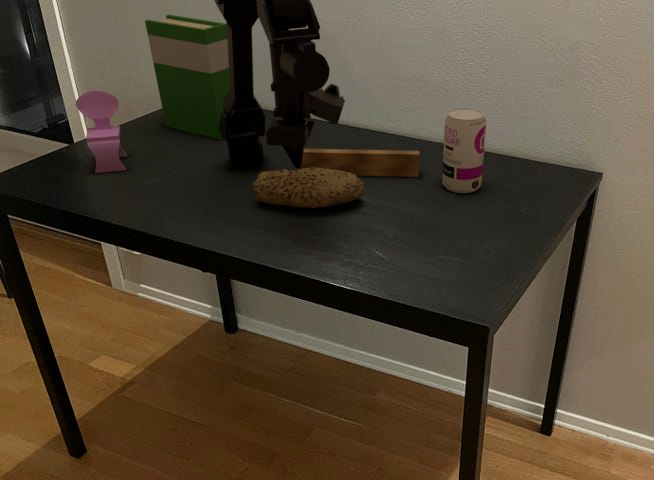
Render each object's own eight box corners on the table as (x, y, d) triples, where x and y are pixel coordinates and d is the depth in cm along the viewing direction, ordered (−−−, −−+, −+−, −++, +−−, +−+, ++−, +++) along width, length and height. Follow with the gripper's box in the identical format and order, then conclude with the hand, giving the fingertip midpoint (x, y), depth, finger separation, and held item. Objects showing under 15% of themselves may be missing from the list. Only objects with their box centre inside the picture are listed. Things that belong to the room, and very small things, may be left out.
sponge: (253, 215, 138) (343, 212, 130) (245, 174, 135) (337, 168, 127) (288, 201, 149) (373, 197, 141) (281, 163, 146) (368, 157, 138)
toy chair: (90, 174, 150) (70, 102, 141) (92, 159, 157) (73, 89, 148) (131, 170, 152) (114, 99, 143) (132, 155, 159) (116, 86, 150)
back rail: (297, 174, 151) (295, 151, 148) (298, 171, 153) (296, 148, 150) (418, 177, 151) (419, 154, 148) (419, 173, 153) (419, 150, 150)
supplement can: (486, 182, 149) (492, 110, 140) (472, 197, 143) (477, 123, 134) (451, 175, 152) (454, 104, 143) (436, 189, 146) (438, 116, 137)
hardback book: (166, 126, 174) (144, 20, 160) (187, 117, 179) (168, 14, 165) (221, 139, 168) (204, 30, 153) (241, 130, 173) (227, 23, 158)
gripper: (333, 93, 107) (339, 190, 117) (345, 60, 122) (349, 148, 131) (260, 91, 107) (271, 188, 117) (280, 58, 122) (289, 147, 131)
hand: (298, 167), depth 124 cm, fingers closed
